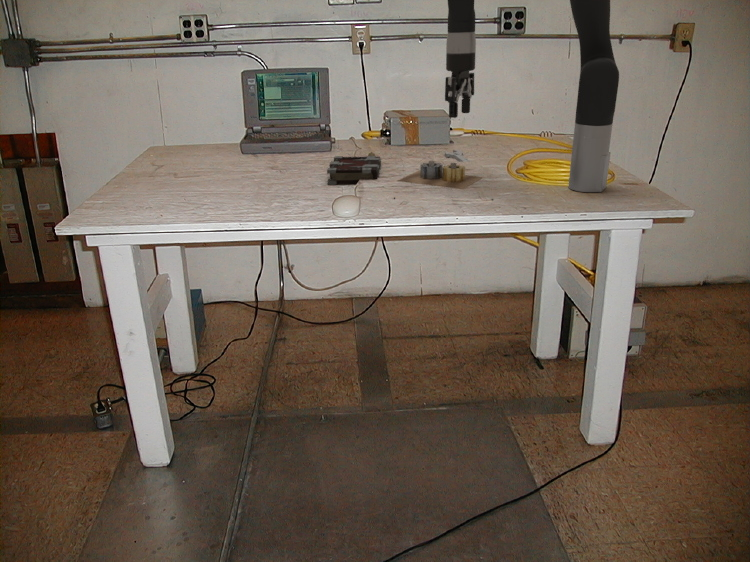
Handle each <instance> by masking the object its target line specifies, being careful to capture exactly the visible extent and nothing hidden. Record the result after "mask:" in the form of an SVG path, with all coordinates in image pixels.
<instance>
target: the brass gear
mask: <svg viewBox="0 0 750 562" xmlns="http://www.w3.org/2000/svg"><path fill="white" fill-rule="evenodd" d="M465 175H466V166H465V165H461V164H456V168H451V164H448V165H443V181H448V182H459V181H464V180H465Z"/></svg>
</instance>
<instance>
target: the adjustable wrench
mask: <svg viewBox="0 0 750 562" xmlns="http://www.w3.org/2000/svg"><path fill="white" fill-rule="evenodd" d="M444 157H445V158H448V159H454V160H456V161H457V162H461V163H471V162H472V160H470V159H468V158H467V157H465V156H464V152H463V150H459V149H452V152H451V151H447V150H445V151H444Z"/></svg>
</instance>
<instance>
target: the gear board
mask: <svg viewBox="0 0 750 562" xmlns="http://www.w3.org/2000/svg"><path fill="white" fill-rule="evenodd" d="M428 163H429V166H434V163H435V160H429V161H428ZM450 165H451V168H456V165H457V163H456V162H451V163H450ZM483 178H484V177H483V176H476V175H466V174H465V180H464V181H459V182H448V181H443V174H442V177H440V179H432V180H429V179H422V177H420V169H419V170H417V171H415V172H412V173H411V174H409V175H406V176H404V177H402V178H400V179H398V180H397V182H403V183H411V184H419V185H429V186H434V187H435V186H436V187H444V188H451V189H458V190H465V189H467V188H468V187H470V186H472V185H474V184H475V183H476V182H478V181H480V180H482V179H483Z"/></svg>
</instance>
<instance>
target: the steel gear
mask: <svg viewBox="0 0 750 562" xmlns="http://www.w3.org/2000/svg"><path fill="white" fill-rule="evenodd" d="M419 165H420V167H419V170H420V177H422V179H429V180H432V179H440V177H442V174H443V166H444V164H443V163H441V162H434V166H429V162H422V163H421V164H419Z"/></svg>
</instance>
